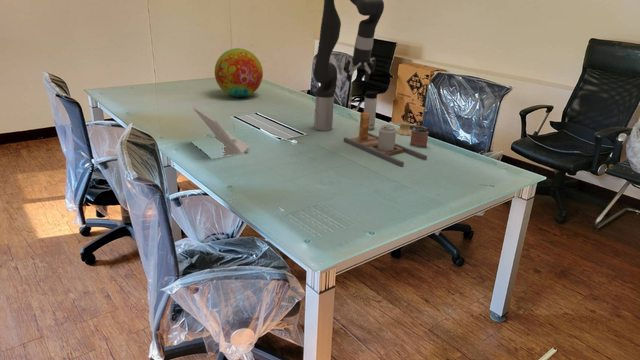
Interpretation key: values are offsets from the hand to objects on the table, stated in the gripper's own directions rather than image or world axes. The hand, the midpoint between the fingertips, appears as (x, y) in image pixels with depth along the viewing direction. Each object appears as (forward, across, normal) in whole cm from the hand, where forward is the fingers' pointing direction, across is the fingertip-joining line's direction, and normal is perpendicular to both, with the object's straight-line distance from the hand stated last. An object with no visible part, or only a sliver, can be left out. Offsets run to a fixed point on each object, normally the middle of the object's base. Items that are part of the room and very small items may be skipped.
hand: (357, 80), depth 205 cm
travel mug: (+34, -19, -13) cm, 41 cm away
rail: (+26, -10, +19) cm, 34 cm away
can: (+26, -10, +20) cm, 35 cm away
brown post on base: (+27, -8, +14) cm, 32 cm away
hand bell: (+32, -34, -1) cm, 46 cm away
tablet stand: (+32, +60, -5) cm, 69 cm away
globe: (+55, +30, -95) cm, 114 cm away
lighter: (+27, -29, +18) cm, 44 cm away
